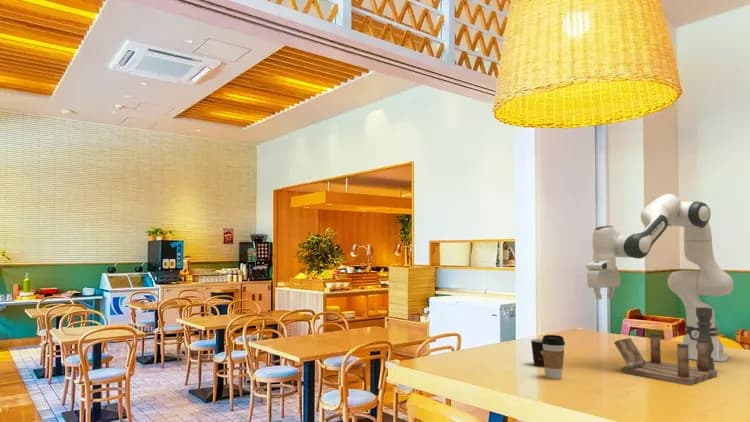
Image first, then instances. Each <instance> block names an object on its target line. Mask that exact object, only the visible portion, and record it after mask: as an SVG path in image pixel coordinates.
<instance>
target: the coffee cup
mask: <svg viewBox="0 0 750 422" xmlns="http://www.w3.org/2000/svg"><path fill="white" fill-rule="evenodd" d="M542 339H543V340H542V344H543V358H544V367H543V368H544V375H545V378H547V379H550V380H551V379H552V380H560V379H563V368H564V355H565V349H564V347H565V345H566V342H565V340H564V336H561V335H556V334H545V335H544V336H542Z"/></svg>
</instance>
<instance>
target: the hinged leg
mask: <svg viewBox="0 0 750 422" xmlns="http://www.w3.org/2000/svg"><path fill="white" fill-rule="evenodd" d="M613 343H614V345H615V347H616V348H617V349H618V352H619V354H621V356H622V358H623V360H624V361H625V363H626V365H627V366H629V367H630V368H633V367H637V366H641V365H645V364H646V362H647V361H646V360H645V359H644V357H643V355H642V354H641V352H640V351H639V350H638V349H639V348H637V346H636V344H635V343H634V341H633V340H632V338H631V337H630V338H628V337H627V338H623V339H618V340H616V341H614V342H613Z"/></svg>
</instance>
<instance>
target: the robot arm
mask: <svg viewBox="0 0 750 422" xmlns="http://www.w3.org/2000/svg"><path fill="white" fill-rule="evenodd" d="M710 219H711V209H710V207H709V206H708V204H706V203H705V202H701V201H698V200H697V201H690V200H689V201H686V200H684V201H681V200H680V199H679V197H678V196H676V195H675V194H671V193H665V194H662V195H661V196H659V197H657V198H656V199H654V200H652V201H651V202H650V203H649V204H647V205H646V206H645V207H644V208H643V209H642V211H641V213H640V221H641V223H642V224H643V225H644V227H645V228H644V230H643V231H641V232H637V233H627V234H626V233H621V232H620V231H619V232H618V230H616V229H615V228H614V226H613V225H602V226H598V227H596V228H594V230H593V235H592V249H593V254H592V260H591V261H589V262H588V263H587V264H586V269H587V272H586V279H587V287H588V288H591V289H593V291H594V292H593V293H594V294H595V299H596V300H601V299H602V294H601V289H603V288H605V289H606V288H607V289H608V293H607V294H606V295H607V299H613V298H614V293H615V290H616V288H620V287H621V277H620V275H621V274H620V271H619V269H618V267H617V265H616V264H617V259H616V258H633V259H643V258H645V257H646V256H648V254H649V253H650V251H651V248H652V247H653V245H654V244H655V242H657V240H658V239H659V238H660V237H661V236H662V234H663V233H664V232H665V231H667V228H668V226H670V227H672V226H674V227H683V228H684V229H683V246H684V247H683V250H684V253H683V254H684V258H685V259H686V260H687V261H689V262H690V263H693V264H695V265H697V266H698V268H699V269H700V270H685V269H684V270H677V271H672V272H671V273H670V274H669V276H668V277H667V286H668V288H669V289H670V291H672V293H673V294H675V295H676V296H677V297H678V298H679V299H680V300H681V302H682V303H683V306H684V309H685V315H686V316H685V318H686V325H685V328H684V329H685V333H686V334H685V335H684V336H683V337H682V342H681V344H687V345H689V347H688V349H689V360H695V361H698V360H697V357H698V350H697V348H696V344H697V340H698V336H699V326H698V324H697V322H699V320H698V318H697V316H696V307H705V308H712V319H711V321H710V323H712V325H711V327H710V336H711V339H712V343H713V346H714V350H713V352H712V353H711V354H712V355H711V357H712V358H713V360H714V361H713V362H727V361H728V359H730V355H729V354H725V352H724V343H723V342H722V341H721V340H720V338H719V337H718V332H719V327H716V318H715V317H716V316H715V315H716V313H715V309H714V308H713V307H711V305H709V304H707V303H705V302H703V301H701V300H700V297H699V296H707V297H708V296H709V297H722V296H728V295H730V294H731V292H732V291H733V289H734V280H733V278H732V276H730V274H728V273H727V272H726V271H724V270H723V269H722V268H721V267H720V266H719V265H718V262H716V259H715V255H714V249H713V237H712V236H713V235H712V229H711V225H710V222H709V221H710Z"/></svg>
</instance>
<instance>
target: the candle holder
mask: <svg viewBox="0 0 750 422" xmlns="http://www.w3.org/2000/svg"><path fill="white" fill-rule="evenodd" d="M712 308H713V307H712ZM712 308H705V307H696V316H697V318H698V320H699V322H697V324H698V326H699V336H698V339H702V340H708V355H709V370H714V371H716V370H715V369H716V368H715V363H714V362H715V361H714V360H713V358H712V357H711V355H712V354H711V353H712V352H713V350H714V346H713V343H712V339H711V336H710V327H711V325H712V323H710V321H711V319H712ZM696 348H697V350H698V347H697V344H696ZM696 368H698V357H697V360H696Z"/></svg>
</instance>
